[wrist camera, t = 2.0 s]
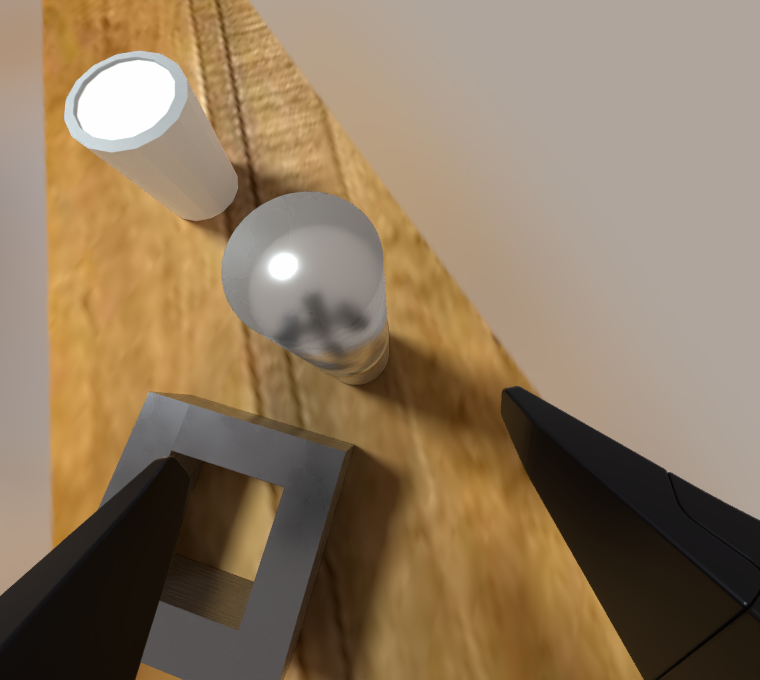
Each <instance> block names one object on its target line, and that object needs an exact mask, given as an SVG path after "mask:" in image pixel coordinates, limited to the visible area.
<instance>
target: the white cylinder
mask: <svg viewBox="0 0 760 680" xmlns="http://www.w3.org/2000/svg"><path fill="white" fill-rule="evenodd" d="M64 120H65V122H66V125H67V127H68V129H69V131H70V134H71V136H72V137H73V138H75V139H76V140H77V141H79V142H80V143H81V144H83V145H84V146H85V147H87V148H88V149H89V150H91V151H92V152H93V153H95V154H96V155H97V156H99V157H100V158H101V159H103V160H104V161H105V162H107V163H108V164H109V165H111V166H112V167H113V168H115V169H116V170H117V171H119V172H120V173H121V174H123V175H124V176H125V177H127V178H128V179H129V180H131V181H132V182H133V183H135V184H136V185H137V186H139V187H140V188H141V189H143V190H144V191H145V192H147V193H148V194H149V195H151V196H152V197H153V198H155V199H156V200H157V201H159V202H160V203H162V204H163V205H164V206H166V207H167V208H168V209H170V210H171V211H172V212H174V213H175V214H176V215H178V216H179V217H181V218H182V219H187V220H192V221H200V220H206V219H211V218H213V217H214V216H216V215H218V214H220V213H222V212H224V211H225V209H226V208H227V207H228V206H229V205H230V204H231V203H232V202H233V201H234V198H235V196H236V193H237V190H238V176H237V174H236V172H235V170H234V168H233V166H232V165H231V163H230V161H229V159H228V157H227V155H226V153H225V151H224V149H223V147H222V145H221V143H220V142H219V140H218V138H217V136H216V134H215V132H214V130H213V128H212V126H211V124H210V122H209V120H208V119H207V117H206V115H205V113H204V111H203V109H202V107H201V105H200V103H199V101H198V99H197V97H196V96H195V94H194V92H193V90H192V88H191V86H190V84H189V82H188V80H187V78H186V77H185V75H184V73H183V72H182V70H181V68H180V67H179V65H178V64H177V63H175V62H174V61H172V60H170V59H169V58H167V57H165V56H164V55H162V54H158V53H151V52H145V51H135V52H129V53H123V54H117V55H114V56H112V57H110V58H108V59H106V60H104V61H102V62H100V63H98V64H96V65H94V66H93V67H92V68H90V69H89V70H88V71H87V72H86V73H85V74H84V75H83V76H81V77H80V78H79V79H78V80H77V81H76V83H75V85H74V86H73V88H72V90H71V92H70V93H69V95H68V97H67V99H66V104H65V115H64Z"/></svg>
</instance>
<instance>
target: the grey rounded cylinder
mask: <svg viewBox="0 0 760 680" xmlns="http://www.w3.org/2000/svg"><path fill="white" fill-rule="evenodd" d="M221 274H222V284H223V289H224V293H225V295H226V298H227V301H228V302H229V304H230V306H231V308H232V310H233V311H234V312H235V313H236V315H237V316H238V317H239V318H240V319H241V320H242V321H243V322H244V323H245V324H246V325H247V326H249V327H250V328H252V329H253V330H254V331H256V332H258V333H259V334H261V335H263V336H265V337H266V338H268V339H270V340H271V341H273V342H275V343H277V344H278V345H280V346H282V347H283V348H285V349H287V350H288V351H290V352H292V353H294V354H295V355H297V356H299V357H300V358H302V359H304V360H306V361H307V362H309V363H311V364H312V365H314V366H315V367H316V368H317V369H319V370H320V371H322V372H324V373H326V374H328V375H331V376H333V377H335V378H336V379H338V380H340V381H342V382H344V383H346V384H351V385H361V384H366V383H369V382H371V381H373V380H374V379H376V378H377V377H378V376H379V375H380V374H381V373H382V372H383V370H384V369H385V367H386V365H387V362H388V358H389V343H388V342H389V326H388V321H387V310H386V294H385V278H384V262H383V250H382V245H381V241H380V239H379V236H378V233H377V231H376V229H375V228H374V226H373V224H372V223H371V221H370V220H369V219H368V217H367V216H366V215H365V214H364V213H363V212H362V211H361V210H360V209H358V208H357V207H356V206H354V205H353V204H351V203H350V202H348V201H346V200H344V199H342V198H340V197H337V196H334V195H331V194H327V193H321V192H308V191H307V192H296V193H290V194H286V195H283V196H279V197H277V198H274V199H272V200H270V201H268V202H266V203H264V204H262V205H261V206H259V207H258V208H256V209H255V210H254V211H252V212H251V213H250V214H249V215H248V216H247V217H245V218H244V219H243V221H242V222H241V223H240V224H239V225H238V226H237V228H236V229H235V231H234V232H233V234H232V236H231V237H230V239H229V241H228V243H227V246H226V249H225V252H224V256H223V261H222V271H221Z"/></svg>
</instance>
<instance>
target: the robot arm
mask: <svg viewBox="0 0 760 680" xmlns="http://www.w3.org/2000/svg"><path fill="white" fill-rule="evenodd" d="M501 415H502V418H503V421H504V423H505V425H506V427H507V430H508V432H509V434H510V437H511V439H512V441H513V444H514V446H515V448H516V451H517V453H518V455H519V458H520V460H521V462H522V464H523V466H524V469H525V471H526V473H527V474H528V476H529V478H530V480H531V482H532V484H533V485H534V487H535V489H536V491H537V492H538V494H539V496H540V498H541V499H542V501H543V503H544V505H545V506H546V508H547V510H548V512H549V514H550V515H551V517H552V519H553V521H554V522H555V524H556V526H557V528H558V529H559V531H560V533H561V535H562V536H563V538H564V540H565V542H566V543H567V545H568V547H569V549H570V550H571V552H572V554H573V556H574V558H575V559H576V561H577V563H578V565H579V566H580V568H581V570H582V572H583V573H584V575H585V577H586V579H587V580H588V582H589V584H590V586H591V587H592V589H593V591H594V593H595V595H596V596H597V598H598V600H599V602H600V603H601V605H602V607H603V609H604V610H605V612H606V614H607V616H608V617H609V619H610V621H611V623H612V624H613V626H614V628H615V630H616V631H617V633H618V635H619V637H620V639H621V640H622V642H623V644H624V646H625V647H626V649H627V651H628V653H629V654H630V656H631V658H632V660H633V661H634V663H635V665H636V667H637V668H638V670H639V672H640V674H641V676H642V677H643V679H644V680H760V520H758V519H756V518H754V517H752V516H750V515H748V514H746V513H744V512H743V511H740V510H738V509H737V508H735V507H733V506H731V505H729V504H727V503H725V502H723V501H721V500H720V499H718V498H716V497H714V496H712V495H710V494H709V493H707V492H705V491H703V490H701V489H700V488H698V487H696V486H694V485H692V484H690V483H689V482H687V481H685V480H683V479H682V478H680V477H678V476H676V475H674V474H673V473H671V472H668V473H667V471H666V470H665V469H664V468H662V467H660V466H658V465H657V464H655V463H653V462H652V461H650V460H648V459H646V458H644V457H643V456H641V455H639V454H637V453H636V452H634V451H632V450H630V449H629V448H627V447H625V446H623V445H622V444H620V443H618V442H616V441H615V440H613V439H611V438H609V437H608V436H606V435H604V434H602V433H600V432H599V431H597V430H595V429H593V428H592V427H590V426H588V425H586V424H585V423H583V422H581V421H579V420H578V419H576V418H574V417H572V416H570V415H569V414H567V413H565V412H564V411H562V410H560V409H558V408H557V407H555V406H553V405H551V404H550V403H548V402H546V401H544V400H542V399H541V398H539V397H537V396H535V395H534V394H532V393H530V392H528V391H527V390H525V389H523V388H521V387H519V386H514V387H509V388H505V389H503V391H502V400H501ZM189 485H190V476H189V473H188V472H187V471H186V469H185V468H184V467H183V466H182V465H181V463H180V462H179V461H178V460H177V458H175V457H173V456H168V457H163V458H158V459H156V460H154V461H153V462H152V463H151V464H150V465H148V466H147V467H146V468H145V469H144V470H143V471H142V472H140V473H139V474H138V475H137V476H136V477H135V478H134V479H133V480H131V481H130V482H129V483H128V484H127V485H126V486H125V487H123V488H122V489H121V490H120V491H119V492H118V493H117V494H115V495H114V496H113V497H112V498H111V499H110V500H109V501H108V502H106V503H105V504H104V505H103V506H102V507H101V508H100V509H98V510H97V511H96V512H95V513H94V514H93V515H92V516H91V517H89V518H88V519H87V520H86V521H85V522H84V523H83V524H81V525H80V526H79V527H78V528H77V529H76V530H75V531H73V532H72V533H71V534H70V535H69V536H68V537H67V538H66V539H64V540H63V541H62V542H61V543H60V544H59V545H58V546H56V547H55V548H54V549H53V550H52V551H51V552H50V553H49V554H47V555H46V556H45V557H44V558H43V559H42V560H41V561H40V562H38V563H37V564H36V565H35V566H34V567H33V568H32V569H30V570H29V571H28V572H27V573H26V574H25V575H24V576H22V578H20V579H19V580H18V581H17V582H16V583H15V584H13V585H12V586H11V587H10V588H9V589H8V590H7V591H5V592H4V593H3V594H2V595H1V596H0V680H135V679H136V676H137V673H138V669H139V666H140V663H141V660H142V656H143V653H144V650H145V646H146V643H147V640H148V637H149V633H150V630H151V627H152V624H153V620H154V617H155V614H156V611H157V607H158V604H159V601H160V598H161V594H162V591H163V588H164V585H165V581H166V578H167V575H168V572H169V568H170V565H171V562H172V559H173V555H174V552H175V548H176V545H177V541H178V537H179V533H180V528H181V523H182V519H183V514H184V509H185V504H186V499H187V494H188V489H189Z"/></svg>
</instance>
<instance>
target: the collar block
mask: <svg viewBox="0 0 760 680" xmlns="http://www.w3.org/2000/svg"><path fill="white" fill-rule="evenodd" d="M353 447H354V444H350V443H347V442H344V441H341V440H337V439H334V438H331V437H327V436H324V435H321V434H318V433H314V432H311V431H308V430H304V429H301V428H298V427H295V426H291V425H288V424H285V423H281V422H278V421H275V420H272V419H268V418H265V417H262V416H258V415H255V414H252V413H249V412H245V411H242V410H239V409H235V408H232V407H229V406H226V405H222V404H219V403H216V402H212V401H209V400H206V399H203V398H199V397H196V396H193V395H185V394H173V393H161V392H149V394H148V396H147V398H146V401H145V403H144V405H143V408H142V410H141V412H140V414H139V417H138V419H137V421H136V424H135V426H134V428H133V430H132V433H131V435H130V437H129V440H128V442H127V444H126V447H125V449H124V451H123V453H122V456H121V458H120V460H119V463H118V465H117V467H116V469H115V472H114V474H113V476H112V479H111V481H110V483H109V486H108V488H107V490H106V492H105V495H104V497H103V499H102V502H101V504H100V506H99V508H98V509H100V508H101V507H102V506H103V505H104V504H105V503H106V502H108V501H109V500H110V499H111V498H112V497H113V496H114V495H115V494H117V493H118V492H119V491H120V490H121V489H122V488H123V487H125V486H126V485H127V484H128V483H129V482H130V481H131V480H133V479H134V478H135V477H136V476H137V475H138V474H139V473H140V472H142V471H143V470H144V469H145V468H146V467H147V466H148V465H150V464H151V463H152V462H153V461H154V460H156V459H158V458H163V457H168V456H173V457H175V458H177V460H178V461H179V462H180V463H181V465H182V466H183V467H184V468H185V469H186V471H187V472H188V473H189V476H190V485H189V489H188V494H187V499H186V504H185V509H186V507H187V504H188V501H189V499H190V496H191V494H192V491H193V488H194V486H195V483H196V480H197V478H198V475H199V473H200V470H201V467H202V465H203V462H204V461H205V462H208V463H212V464H215V465H218V466H221V467H224V468H227V469H230V470H233V471H236V472H239V473H242V474H245V475H248V476H251V477H254V478H258V479H261V480H264V481H267V482H270V483H273V484H276V485H279V486H282V487H285V488H284V491H283V494H282V497H281V500H280V503H279V506H278V509H277V513H276V516H275V519H274V522H273V525H272V528H271V531H270V534H269V537H268V540H267V544H266V547H265V550H264V553H263V556H262V559H261V562H260V565H259V568H258V571H257V574H256V578H255V581H254V582H252V581H249V580H246V579H243V578H241V577H238V576H235V575H232V574H230V573H227V572H224V571H221V570H219V569H216V568H213V567H210V566H207V565H205V564H202V563H199V562H196V561H194V560H191V559H188V558H185V557H183V556H180V555H177V554H174V555H173V559H172V562H171V565H170V568H169V572H168V575H167V578H166V581H165V585H164V588H163V591H162V594H161V598H160V601H159V604H158V607H157V611H156V614H155V617H154V620H153V624H152V627H151V630H150V633H149V637H148V640H147V643H146V646H145V650H144V653H143V656H142V660H141V663H144V664H146V665H149V666H151V667H154V668H156V669H159V670H161V671H164V672H166V673H168V674H171V675H173V676H176V677H178V678H181V679H183V680H284V677H285V675H286V672H287V670H288V668H289V665H290V663H291V660H292V658H293V655H294V653H295V650H296V646H297V643H298V639H299V636H300V632H301V629H302V625H303V622H304V618H305V615H306V611H307V608H308V604H309V601H310V597H311V594H312V590H313V587H314V583H315V580H316V576H317V573H318V569H319V566H320V562H321V559H322V555H323V552H324V548H325V545H326V541H327V538H328V534H329V531H330V527H331V524H332V520H333V517H334V513H335V510H336V507H337V503H338V500H339V496H340V493H341V489H342V486H343V482H344V479H345V475H346V472H347V468H348V465H349V461H350V458H351V454H352V451H353ZM185 509H184V512H185ZM183 515H184V514H183Z"/></svg>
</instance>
